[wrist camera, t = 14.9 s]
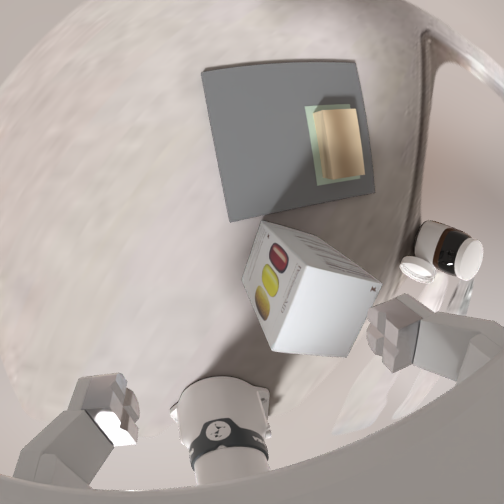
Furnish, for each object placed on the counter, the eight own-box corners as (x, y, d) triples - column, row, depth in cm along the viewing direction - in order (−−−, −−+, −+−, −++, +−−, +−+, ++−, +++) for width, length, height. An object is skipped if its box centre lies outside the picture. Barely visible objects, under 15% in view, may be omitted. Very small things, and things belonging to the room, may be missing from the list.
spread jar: (447, 226, 48) (492, 243, 37) (429, 280, 51) (469, 305, 40) (409, 210, 45) (458, 227, 34) (389, 272, 48) (432, 301, 37)
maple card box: (344, 111, 36) (355, 108, 33) (353, 172, 39) (364, 174, 37) (312, 113, 36) (322, 110, 33) (322, 177, 39) (332, 179, 36)
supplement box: (260, 218, 40) (307, 259, 24) (319, 235, 42) (386, 280, 27) (239, 282, 42) (270, 354, 26) (297, 294, 45) (348, 360, 29)
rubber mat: (371, 191, 42) (375, 192, 41) (229, 220, 39) (230, 222, 38) (351, 64, 35) (355, 62, 34) (201, 74, 32) (201, 71, 31)
